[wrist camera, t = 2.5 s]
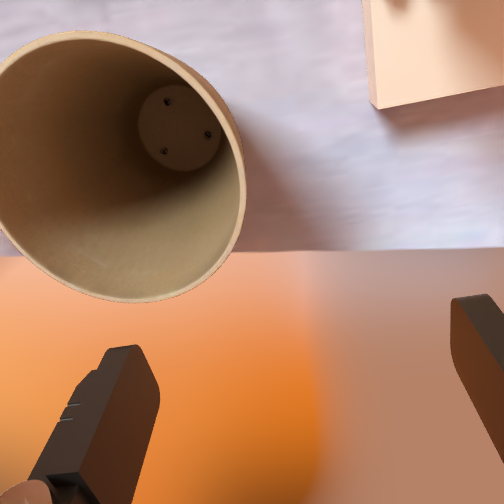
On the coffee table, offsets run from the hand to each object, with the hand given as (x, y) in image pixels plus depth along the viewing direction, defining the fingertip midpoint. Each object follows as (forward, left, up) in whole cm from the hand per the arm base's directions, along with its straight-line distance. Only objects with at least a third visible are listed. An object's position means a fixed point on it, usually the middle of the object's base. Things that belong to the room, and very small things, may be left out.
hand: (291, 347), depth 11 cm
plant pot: (-10, +2, -28) cm, 30 cm away
